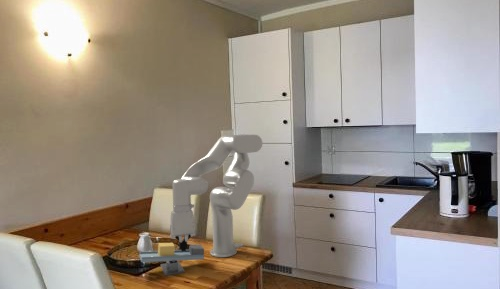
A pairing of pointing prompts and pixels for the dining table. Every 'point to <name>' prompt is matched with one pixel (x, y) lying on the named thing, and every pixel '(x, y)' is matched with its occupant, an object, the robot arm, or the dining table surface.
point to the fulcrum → (172, 268)
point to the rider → (166, 249)
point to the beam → (191, 254)
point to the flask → (147, 244)
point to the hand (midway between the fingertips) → (183, 250)
